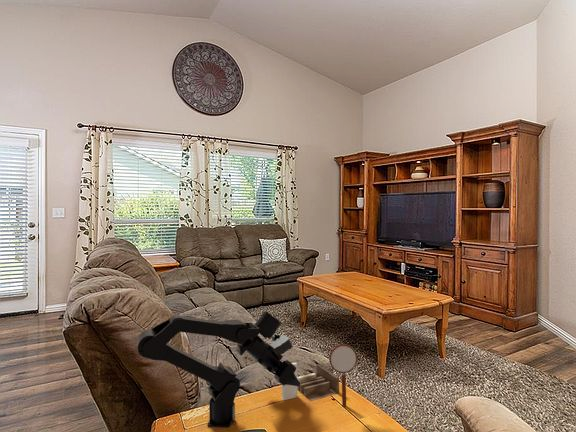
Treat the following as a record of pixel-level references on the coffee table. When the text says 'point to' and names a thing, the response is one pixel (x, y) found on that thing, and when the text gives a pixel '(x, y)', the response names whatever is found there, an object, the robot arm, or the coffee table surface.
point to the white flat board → (290, 389)
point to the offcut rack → (318, 384)
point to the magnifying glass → (343, 364)
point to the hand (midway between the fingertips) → (292, 379)
